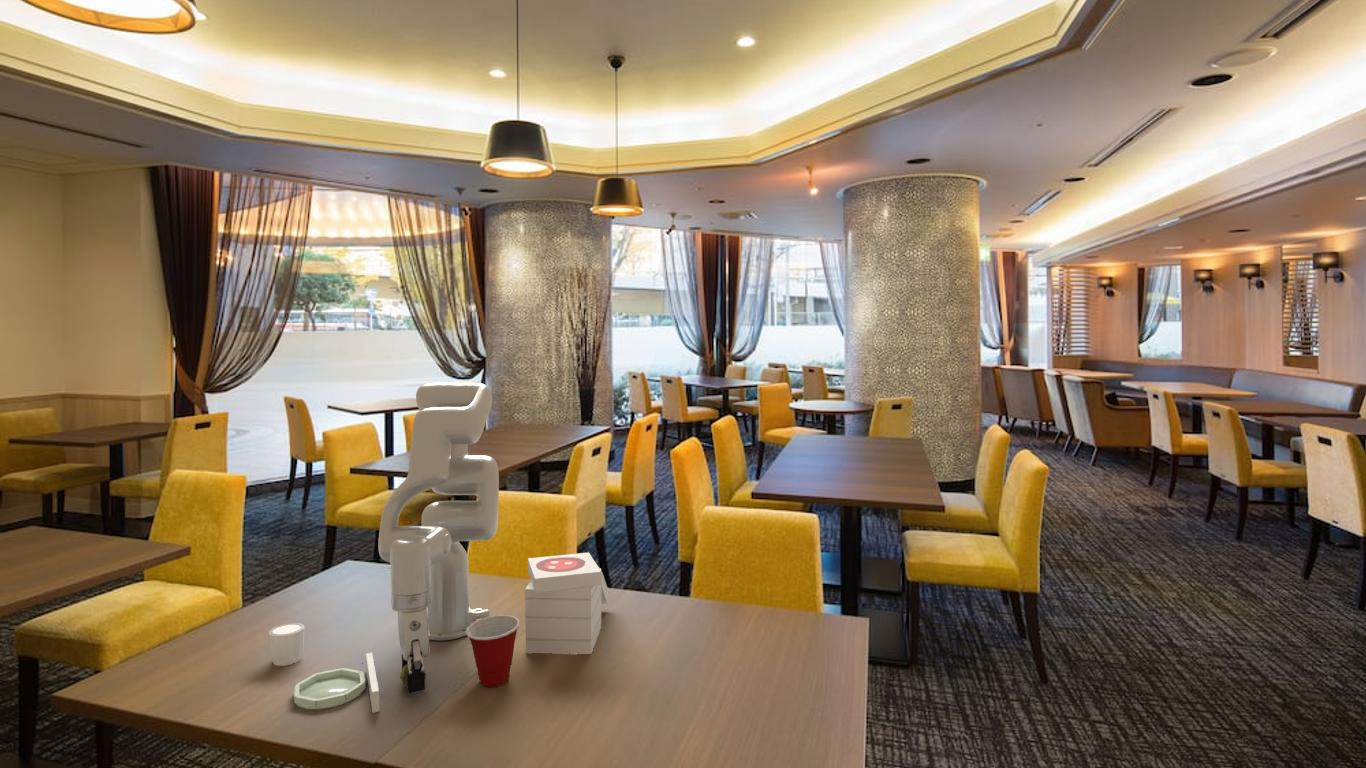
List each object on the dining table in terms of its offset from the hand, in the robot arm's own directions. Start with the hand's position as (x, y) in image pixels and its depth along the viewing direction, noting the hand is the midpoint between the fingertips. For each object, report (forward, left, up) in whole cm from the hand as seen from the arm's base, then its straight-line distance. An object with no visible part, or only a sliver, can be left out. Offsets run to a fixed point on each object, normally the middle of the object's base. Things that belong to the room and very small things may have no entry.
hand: (413, 680), depth 142 cm
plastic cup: (-15, +5, -1) cm, 16 cm away
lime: (0, 0, -1) cm, 1 cm away
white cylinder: (+23, -25, -1) cm, 34 cm away
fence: (+7, -2, -1) cm, 8 cm away
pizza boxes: (-37, -12, -1) cm, 39 cm away
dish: (+15, -5, -1) cm, 16 cm away
